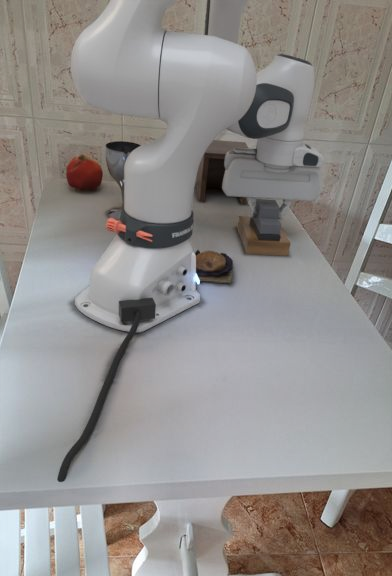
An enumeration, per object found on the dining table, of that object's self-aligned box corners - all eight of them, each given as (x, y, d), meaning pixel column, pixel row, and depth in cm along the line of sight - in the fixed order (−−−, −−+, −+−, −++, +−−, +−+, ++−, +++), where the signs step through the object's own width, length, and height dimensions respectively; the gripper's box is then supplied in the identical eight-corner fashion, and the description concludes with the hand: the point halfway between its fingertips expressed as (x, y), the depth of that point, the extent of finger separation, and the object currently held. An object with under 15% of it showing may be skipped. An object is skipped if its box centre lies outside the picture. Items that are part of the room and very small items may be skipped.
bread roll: (233, 286, 91) (236, 268, 89) (188, 281, 91) (190, 264, 89) (231, 259, 100) (233, 242, 97) (190, 255, 99) (191, 238, 97)
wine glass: (104, 208, 115) (102, 141, 105) (137, 207, 117) (138, 141, 108) (109, 221, 109) (108, 152, 100) (144, 220, 111) (146, 152, 102)
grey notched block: (249, 220, 109) (254, 196, 106) (270, 221, 109) (274, 197, 106) (258, 240, 101) (262, 214, 98) (279, 241, 102) (285, 215, 98)
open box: (245, 204, 125) (253, 156, 118) (199, 201, 124) (204, 152, 116) (238, 187, 134) (245, 142, 127) (195, 185, 133) (199, 138, 126)
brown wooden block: (287, 255, 103) (290, 242, 101) (246, 253, 102) (248, 240, 100) (274, 230, 114) (277, 217, 112) (236, 228, 112) (238, 215, 111)
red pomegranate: (96, 181, 128) (95, 149, 123) (109, 193, 122) (108, 160, 117) (61, 184, 124) (58, 151, 119) (73, 197, 118) (71, 163, 113)
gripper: (228, 151, 92) (219, 220, 101) (331, 159, 95) (314, 226, 103) (224, 142, 97) (216, 209, 106) (322, 149, 100) (307, 214, 108)
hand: (265, 217), depth 105 cm, fingers closed on grey notched block, 4 cm apart
